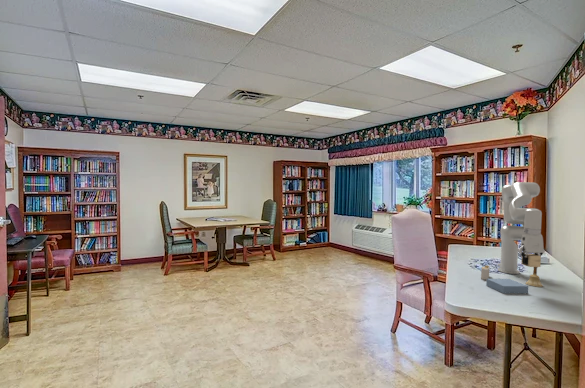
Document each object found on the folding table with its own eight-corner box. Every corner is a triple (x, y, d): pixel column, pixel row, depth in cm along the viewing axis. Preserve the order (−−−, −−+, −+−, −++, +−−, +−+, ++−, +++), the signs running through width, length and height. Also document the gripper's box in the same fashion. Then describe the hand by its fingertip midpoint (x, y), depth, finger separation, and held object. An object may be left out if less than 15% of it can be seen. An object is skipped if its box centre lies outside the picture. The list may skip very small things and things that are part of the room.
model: (481, 279, 203) (481, 267, 202) (483, 276, 211) (483, 264, 211) (486, 280, 201) (487, 268, 200) (489, 277, 209) (489, 265, 209)
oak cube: (521, 264, 182) (521, 253, 182) (531, 264, 182) (531, 253, 182) (530, 266, 176) (530, 256, 176) (540, 267, 176) (540, 256, 176)
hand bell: (540, 284, 195) (542, 257, 195) (544, 287, 188) (546, 260, 187) (524, 282, 199) (525, 256, 198) (527, 285, 191) (528, 258, 191)
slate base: (486, 285, 189) (486, 278, 189) (509, 285, 190) (509, 278, 190) (503, 293, 175) (503, 286, 175) (528, 293, 176) (528, 286, 176)
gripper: (523, 232, 174) (521, 265, 175) (552, 233, 175) (551, 266, 176) (512, 230, 181) (510, 262, 182) (540, 230, 183) (539, 262, 184)
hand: (530, 263), depth 179 cm, fingers closed on oak cube, 6 cm apart
